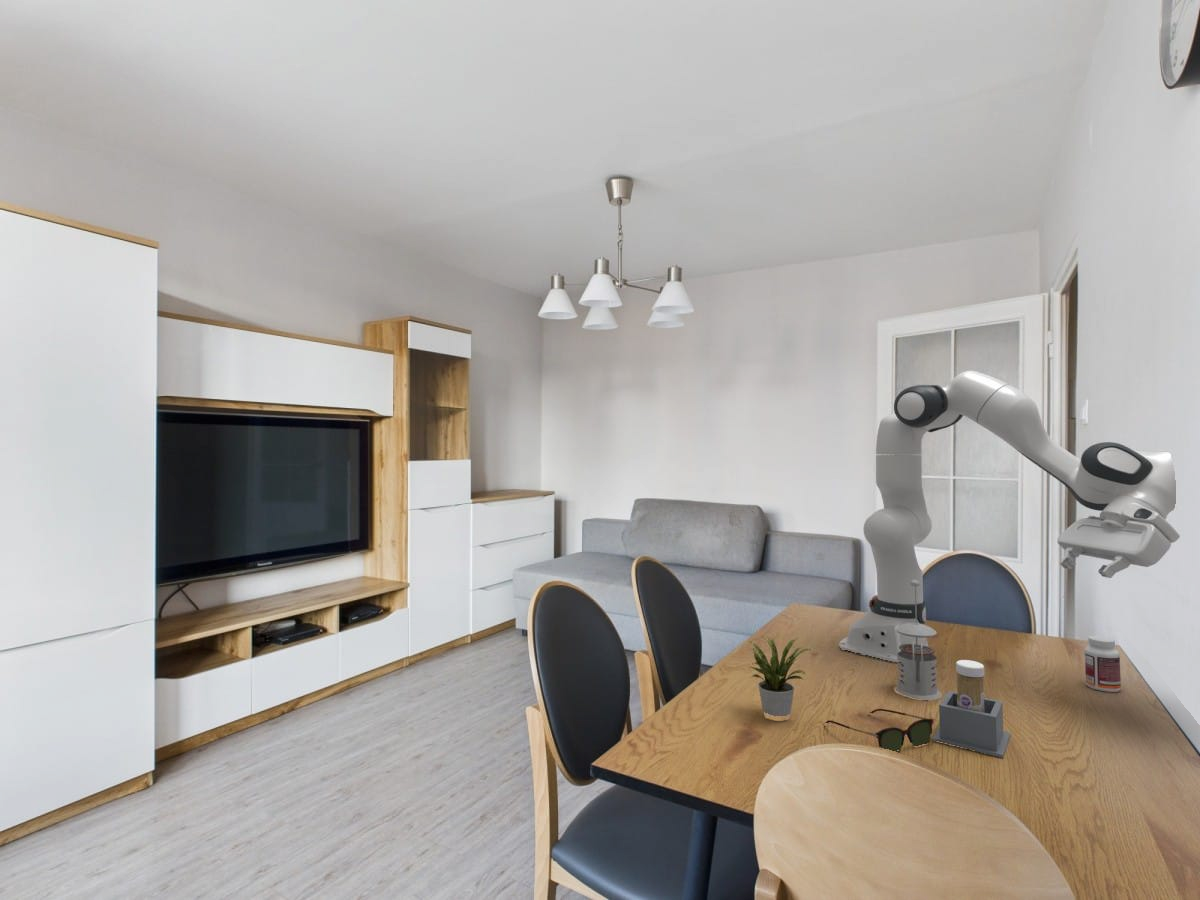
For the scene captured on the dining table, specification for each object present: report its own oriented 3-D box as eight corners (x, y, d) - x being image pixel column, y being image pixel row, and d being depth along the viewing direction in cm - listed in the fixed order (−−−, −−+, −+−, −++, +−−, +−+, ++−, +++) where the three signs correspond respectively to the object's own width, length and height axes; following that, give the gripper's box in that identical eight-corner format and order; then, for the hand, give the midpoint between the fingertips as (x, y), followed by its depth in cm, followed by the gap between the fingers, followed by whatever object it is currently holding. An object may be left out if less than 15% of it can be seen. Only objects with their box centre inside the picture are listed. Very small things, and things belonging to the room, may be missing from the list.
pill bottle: (1125, 689, 140) (1124, 639, 140) (1114, 695, 137) (1113, 644, 137) (1091, 680, 145) (1090, 633, 145) (1080, 686, 142) (1079, 637, 142)
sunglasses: (878, 761, 110) (876, 731, 110) (817, 734, 123) (815, 708, 124) (936, 745, 116) (933, 717, 116) (872, 721, 129) (870, 696, 130)
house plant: (819, 707, 133) (818, 629, 133) (820, 734, 120) (818, 648, 120) (750, 699, 137) (749, 624, 138) (743, 725, 124) (742, 642, 125)
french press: (941, 687, 142) (938, 577, 143) (945, 706, 132) (942, 587, 132) (893, 682, 147) (891, 574, 147) (893, 699, 136) (891, 584, 136)
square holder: (932, 741, 116) (931, 705, 116) (944, 721, 125) (943, 687, 125) (1002, 758, 109) (1002, 720, 109) (1010, 736, 118) (1009, 700, 118)
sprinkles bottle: (955, 736, 117) (953, 663, 117) (960, 727, 120) (958, 657, 120) (983, 743, 114) (982, 668, 114) (987, 734, 117) (986, 662, 118)
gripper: (1075, 505, 136) (1033, 552, 136) (1165, 514, 116) (1116, 568, 115) (1095, 525, 137) (1053, 572, 136) (1189, 538, 116) (1140, 592, 115)
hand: (1083, 570), depth 125 cm, fingers open, 8 cm apart
